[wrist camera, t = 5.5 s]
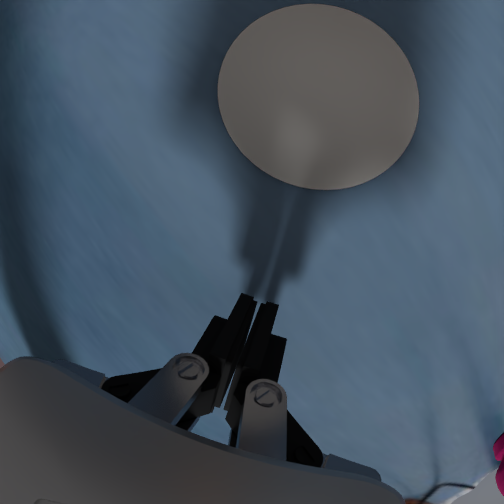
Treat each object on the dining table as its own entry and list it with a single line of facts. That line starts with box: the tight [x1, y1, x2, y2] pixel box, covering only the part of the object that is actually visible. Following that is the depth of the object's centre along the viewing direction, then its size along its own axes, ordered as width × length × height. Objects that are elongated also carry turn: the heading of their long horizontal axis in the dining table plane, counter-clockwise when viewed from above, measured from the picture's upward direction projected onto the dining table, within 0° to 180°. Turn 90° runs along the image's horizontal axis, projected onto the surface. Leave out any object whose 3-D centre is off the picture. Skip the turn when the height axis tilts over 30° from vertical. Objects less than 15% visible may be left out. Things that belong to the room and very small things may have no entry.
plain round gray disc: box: [218, 4, 419, 190], centre depth 9 cm, size 8×8×1 cm
